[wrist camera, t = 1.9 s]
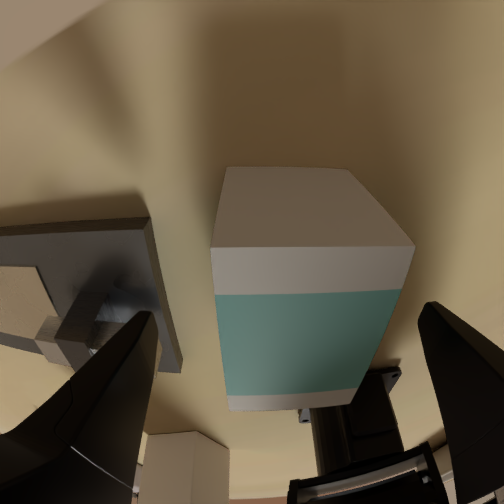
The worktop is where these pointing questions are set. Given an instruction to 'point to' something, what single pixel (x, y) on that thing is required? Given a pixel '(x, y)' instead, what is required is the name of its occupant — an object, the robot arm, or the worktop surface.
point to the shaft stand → (81, 288)
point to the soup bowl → (444, 463)
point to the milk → (184, 470)
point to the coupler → (302, 284)
